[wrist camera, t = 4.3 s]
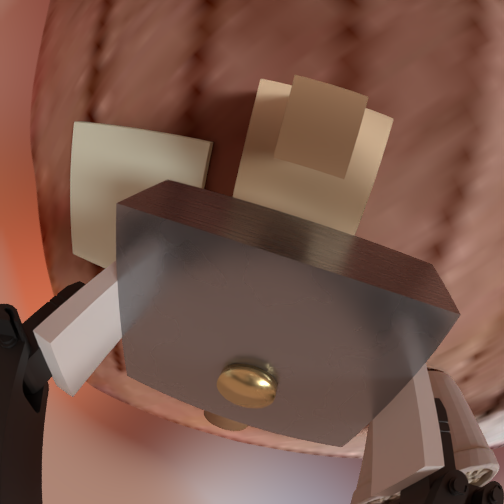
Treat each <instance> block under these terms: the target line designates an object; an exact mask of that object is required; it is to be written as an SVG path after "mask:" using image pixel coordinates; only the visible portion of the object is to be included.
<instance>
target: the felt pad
mask: <svg viewBox="0 0 504 504" xmlns="http://www.w3.org/2000/svg"><path fill="white" fill-rule="evenodd" d="M212 147H213V142H211V141H206V140H201V139H196V138H191V137H186V136H181V135H176V134H170V133H164V132H158V131H152V130H146V129H140V128H133V127H125V126H118V125H110V124H101V123H91V122H80V121H78V122H74V129H73V140H72V153H71V174H70V214H71V236H72V249H73V254H74V255H77V256H79V257H81V258H83V259H85V260H87V261H90V262H92V263H94V264H96V265H99V266H101V267H103V268H105V269H106V268H107V267H108V266H109V265H111V264H112V263H113V262H115V261H116V203H118V202H120V201H122V200H124V199H126V198H128V197H130V196H132V195H135V194H137V193H139V192H141V191H143V190H145V189H147V188H150V187H152V186H154V185H156V184H158V183H161V182H163V181H165V180H172V181H176V182H180V183H184V184H187V185H191V186H195V187H199V188H202V189H204V188H205V182H206V177H207V172H208V167H209V162H210V157H211V152H212Z"/></svg>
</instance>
